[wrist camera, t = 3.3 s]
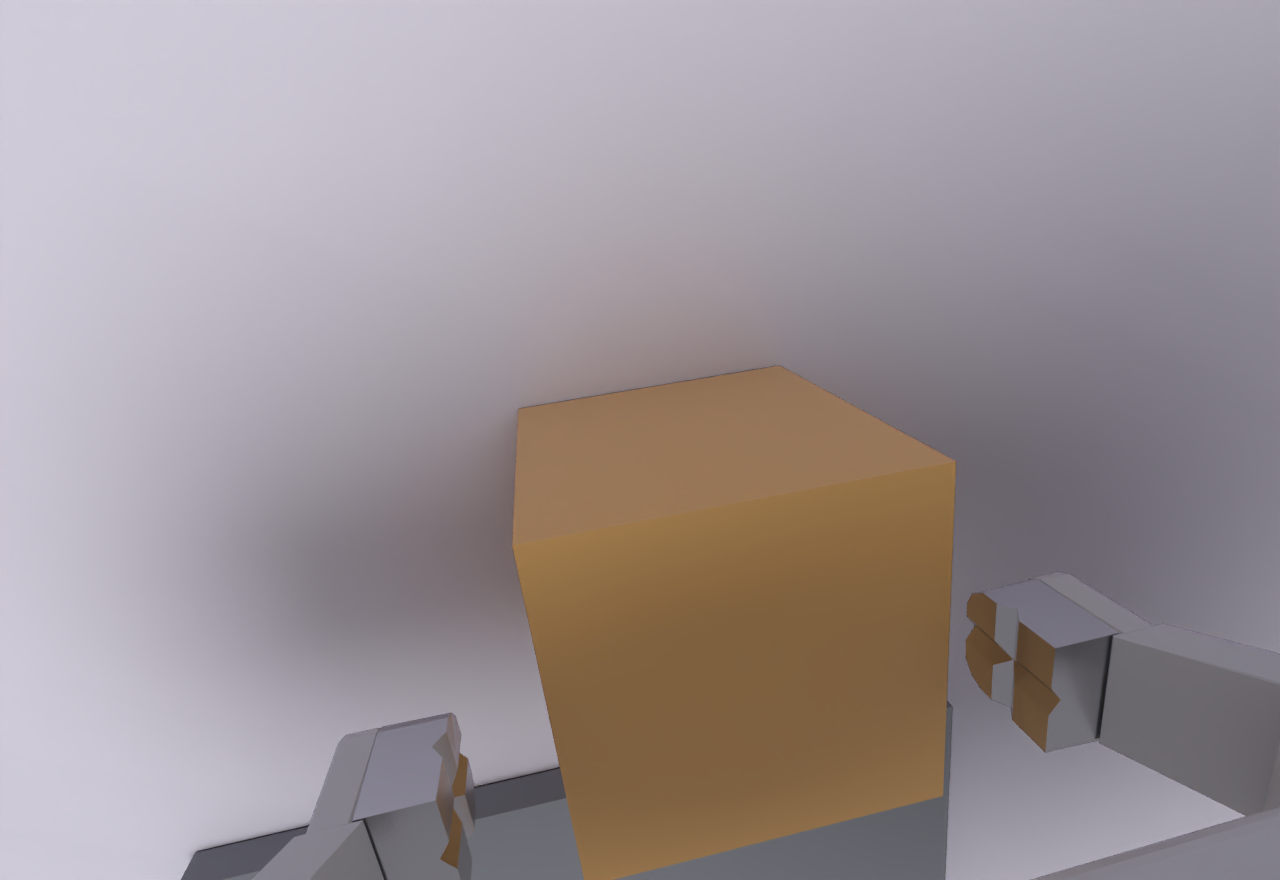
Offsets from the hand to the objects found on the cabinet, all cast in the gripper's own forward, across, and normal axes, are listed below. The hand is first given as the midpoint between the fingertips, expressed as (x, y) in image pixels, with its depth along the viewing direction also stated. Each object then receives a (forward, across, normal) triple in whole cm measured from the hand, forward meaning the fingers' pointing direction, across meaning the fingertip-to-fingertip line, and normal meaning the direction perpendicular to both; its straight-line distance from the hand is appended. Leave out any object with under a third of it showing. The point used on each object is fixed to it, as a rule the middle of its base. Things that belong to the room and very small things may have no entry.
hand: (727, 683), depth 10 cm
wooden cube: (+6, 0, 0) cm, 6 cm away
